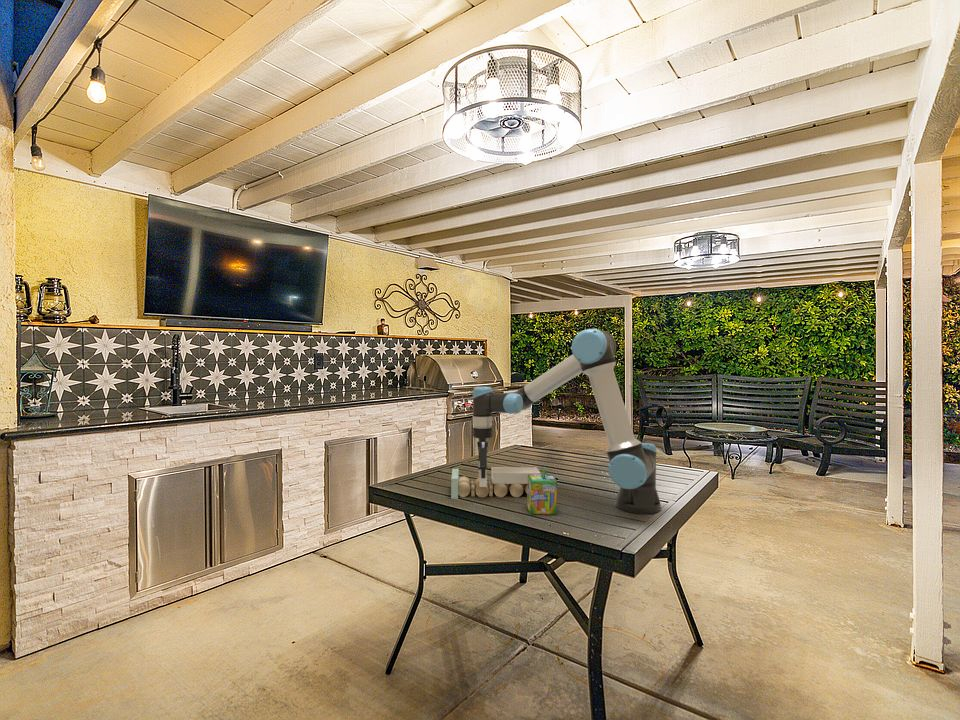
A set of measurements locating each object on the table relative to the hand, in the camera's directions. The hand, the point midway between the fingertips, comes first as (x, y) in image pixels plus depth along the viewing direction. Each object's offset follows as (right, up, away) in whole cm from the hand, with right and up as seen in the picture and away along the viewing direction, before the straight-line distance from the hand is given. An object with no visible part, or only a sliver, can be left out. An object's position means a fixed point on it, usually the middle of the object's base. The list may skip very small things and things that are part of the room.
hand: (482, 482), depth 189 cm
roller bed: (+6, -4, 0) cm, 7 cm away
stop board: (-11, -4, 0) cm, 11 cm away
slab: (+13, +1, 0) cm, 13 cm away
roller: (0, -4, 0) cm, 4 cm away
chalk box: (+20, -5, -20) cm, 29 cm away
